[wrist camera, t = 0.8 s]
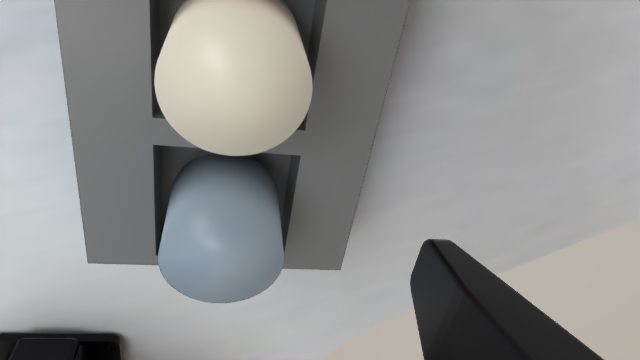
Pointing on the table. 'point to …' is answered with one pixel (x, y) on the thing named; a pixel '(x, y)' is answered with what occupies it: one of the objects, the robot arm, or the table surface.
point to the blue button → (222, 230)
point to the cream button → (233, 75)
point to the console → (175, 152)
